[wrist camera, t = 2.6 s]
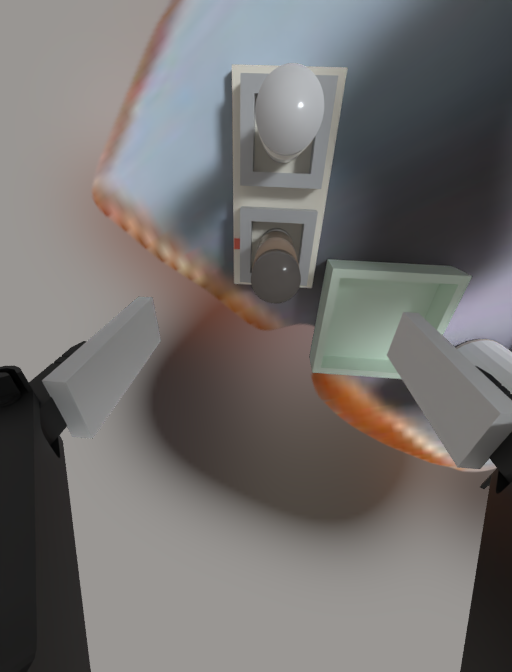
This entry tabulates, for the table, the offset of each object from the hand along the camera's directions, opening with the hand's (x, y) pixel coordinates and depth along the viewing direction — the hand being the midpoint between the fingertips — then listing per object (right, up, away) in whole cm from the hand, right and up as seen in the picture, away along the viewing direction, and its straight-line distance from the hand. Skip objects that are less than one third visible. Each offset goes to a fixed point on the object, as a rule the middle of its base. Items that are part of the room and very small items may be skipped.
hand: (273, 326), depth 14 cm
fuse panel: (+2, +15, +14) cm, 21 cm away
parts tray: (+15, +2, +21) cm, 26 cm away
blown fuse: (+1, +10, +16) cm, 19 cm away
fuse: (+2, +19, +11) cm, 22 cm away
